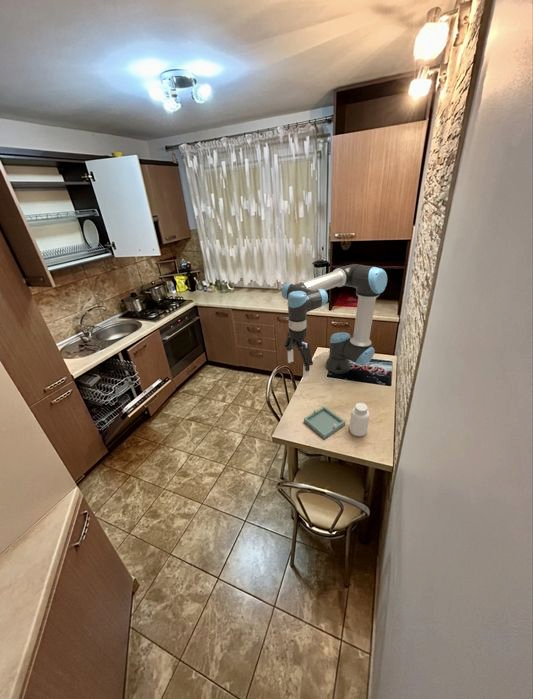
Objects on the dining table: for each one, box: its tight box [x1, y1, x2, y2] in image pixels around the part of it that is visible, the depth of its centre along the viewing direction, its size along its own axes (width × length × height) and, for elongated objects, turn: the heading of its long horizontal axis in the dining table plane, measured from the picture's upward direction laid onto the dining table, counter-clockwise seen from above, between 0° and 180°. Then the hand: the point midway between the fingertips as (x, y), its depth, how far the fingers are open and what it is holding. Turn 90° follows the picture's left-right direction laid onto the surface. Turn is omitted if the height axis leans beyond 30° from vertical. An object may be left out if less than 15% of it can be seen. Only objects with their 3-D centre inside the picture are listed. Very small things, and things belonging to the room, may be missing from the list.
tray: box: [303, 405, 346, 440], centre depth 134 cm, size 14×14×4 cm
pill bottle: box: [348, 402, 371, 437], centre depth 127 cm, size 8×8×15 cm
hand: (298, 368), depth 129 cm, fingers open, 13 cm apart
